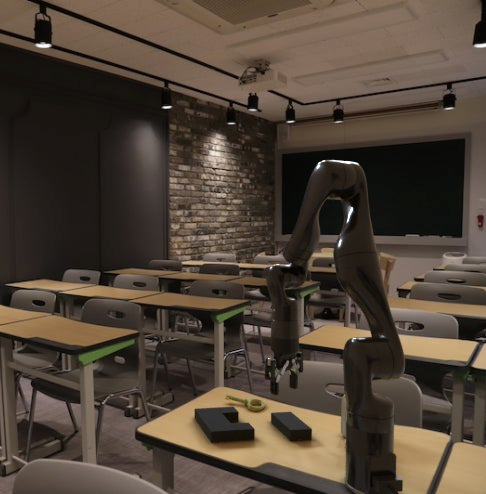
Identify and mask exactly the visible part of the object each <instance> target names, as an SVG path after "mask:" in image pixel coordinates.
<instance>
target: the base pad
mask: <svg viewBox="0 0 486 494" xmlns="http://www.w3.org/2000/svg"><path fill="white" fill-rule="evenodd" d="M239 414H240V412H239V410H237V408H235V407H234V406H218V407H217V406H216V407H202V408H201V407H200V408H194V420H195V421H196V422H197V424H198V426H199V428H200V429H201V430H202V432H203V433H204V435H205V436H206V437H207V439H208V440H209V442H210V443H213V444H214V443H225V442H226V443H227V442H241V441H243V442H244V441H255V440H256V439H255V435H256V434H255V433H256V431H255V428H254V426H252V424H251V423H250V422H239V421H240V419H239V418H240V416H239Z"/></svg>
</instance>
